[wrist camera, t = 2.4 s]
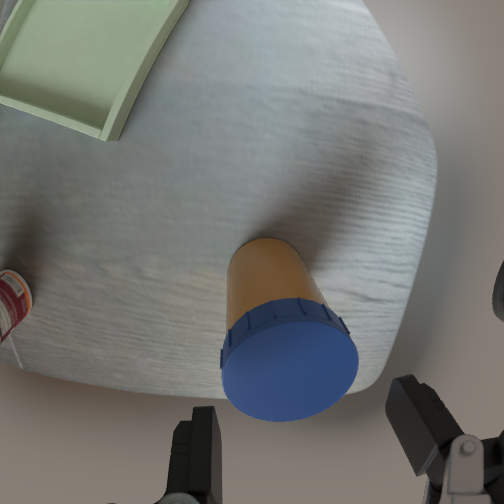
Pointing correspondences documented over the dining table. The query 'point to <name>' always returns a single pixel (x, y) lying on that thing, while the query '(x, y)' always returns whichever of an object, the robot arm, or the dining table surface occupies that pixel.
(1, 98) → the tray
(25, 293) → the pill bottle
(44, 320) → the dining table surface
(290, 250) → the jar
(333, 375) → the lid
